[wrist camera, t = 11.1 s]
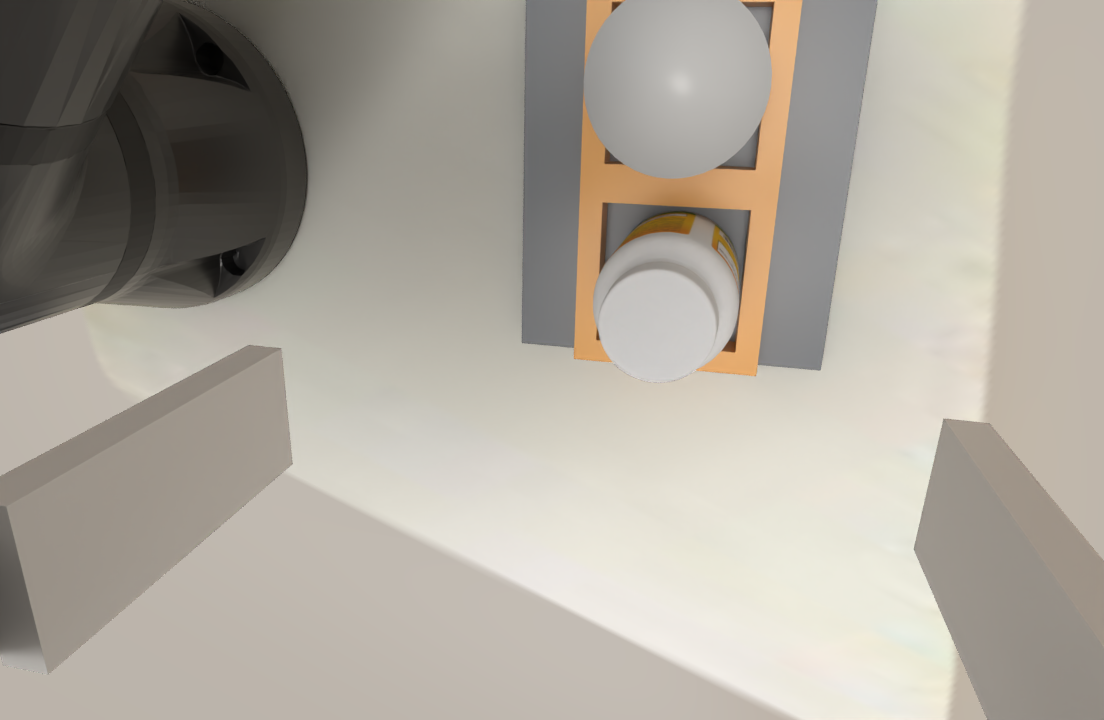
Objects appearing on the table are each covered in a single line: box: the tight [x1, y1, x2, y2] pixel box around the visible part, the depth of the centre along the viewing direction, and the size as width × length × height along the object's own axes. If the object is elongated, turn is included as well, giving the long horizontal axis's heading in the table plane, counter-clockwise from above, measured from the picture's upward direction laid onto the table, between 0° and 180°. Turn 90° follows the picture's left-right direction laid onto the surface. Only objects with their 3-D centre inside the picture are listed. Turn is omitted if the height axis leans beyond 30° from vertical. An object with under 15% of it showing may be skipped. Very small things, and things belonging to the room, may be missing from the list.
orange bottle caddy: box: [522, 0, 877, 376], centre depth 29 cm, size 14×16×9 cm
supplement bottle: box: [593, 211, 739, 383], centre depth 29 cm, size 5×5×10 cm
